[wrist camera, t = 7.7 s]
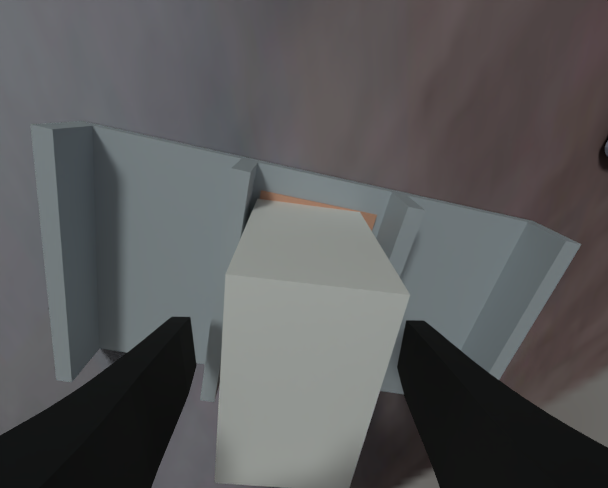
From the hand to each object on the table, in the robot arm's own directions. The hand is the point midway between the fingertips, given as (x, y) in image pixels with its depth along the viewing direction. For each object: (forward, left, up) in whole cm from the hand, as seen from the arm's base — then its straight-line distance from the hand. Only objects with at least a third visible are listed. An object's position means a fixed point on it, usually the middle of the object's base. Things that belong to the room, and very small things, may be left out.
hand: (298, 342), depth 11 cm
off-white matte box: (0, 0, -3) cm, 3 cm away
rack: (0, 0, -4) cm, 4 cm away
